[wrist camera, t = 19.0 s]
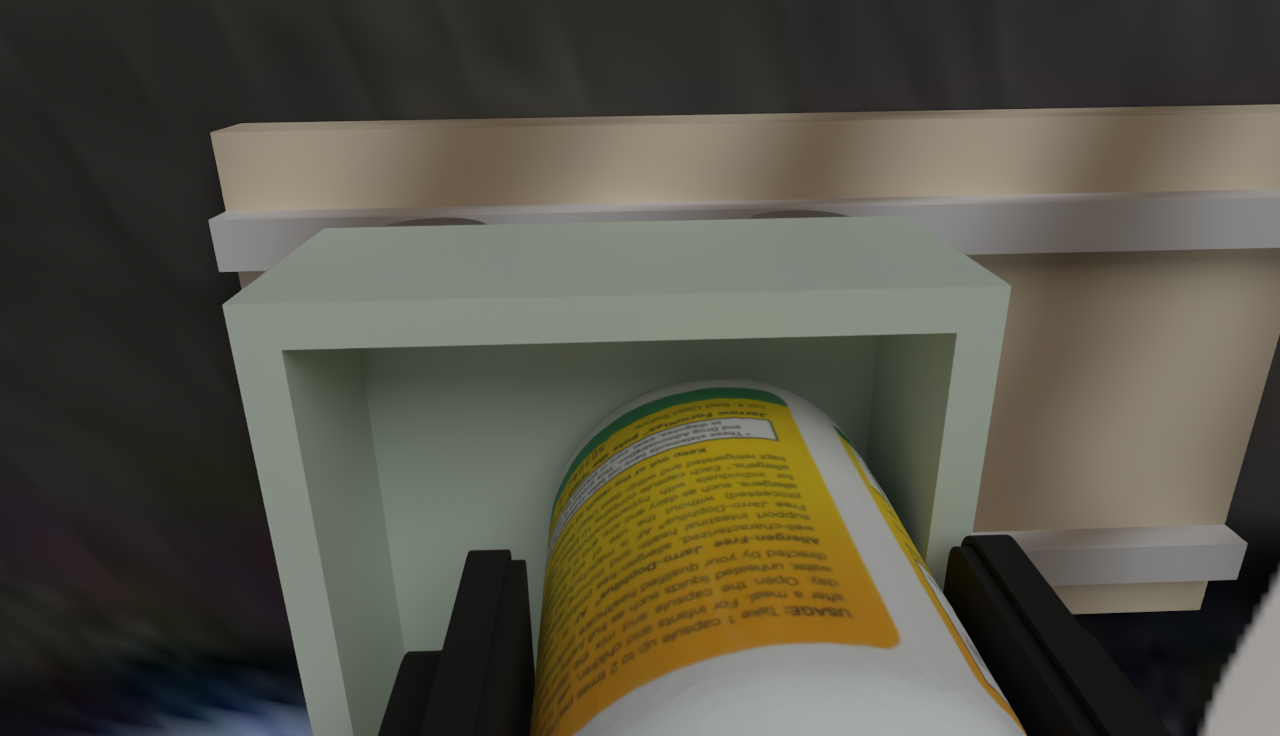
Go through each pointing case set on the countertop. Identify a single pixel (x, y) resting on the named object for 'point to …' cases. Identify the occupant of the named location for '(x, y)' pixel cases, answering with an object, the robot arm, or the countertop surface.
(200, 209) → the countertop surface
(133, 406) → the countertop surface
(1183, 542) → the track
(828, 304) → the sage green storage bin
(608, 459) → the supplement bottle
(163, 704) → the countertop surface
